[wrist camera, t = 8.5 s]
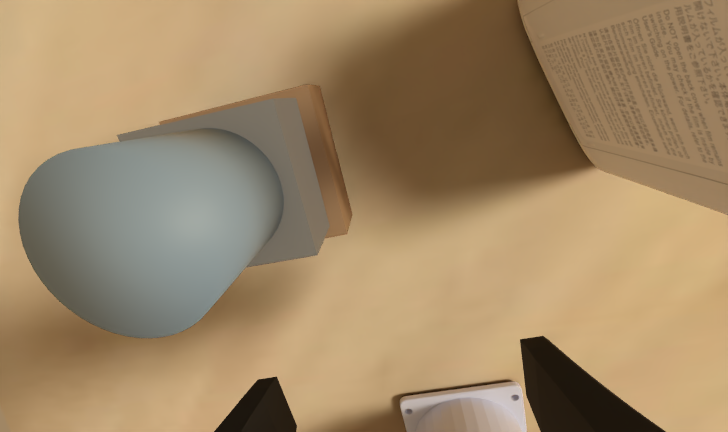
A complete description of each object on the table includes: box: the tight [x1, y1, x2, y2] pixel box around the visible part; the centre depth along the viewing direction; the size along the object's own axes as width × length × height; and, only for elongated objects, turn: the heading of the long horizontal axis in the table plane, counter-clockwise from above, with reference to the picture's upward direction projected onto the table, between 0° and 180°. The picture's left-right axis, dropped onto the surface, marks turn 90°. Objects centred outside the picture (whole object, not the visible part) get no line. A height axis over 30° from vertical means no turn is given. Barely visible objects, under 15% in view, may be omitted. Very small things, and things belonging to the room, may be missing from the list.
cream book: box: [518, 0, 728, 215], centre depth 11 cm, size 10×4×12 cm, turn 34°
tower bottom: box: [159, 84, 352, 238], centre depth 18 cm, size 7×7×3 cm
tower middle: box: [117, 98, 330, 267], centre depth 15 cm, size 6×6×3 cm
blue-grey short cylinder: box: [19, 128, 284, 338], centre depth 11 cm, size 5×5×5 cm
